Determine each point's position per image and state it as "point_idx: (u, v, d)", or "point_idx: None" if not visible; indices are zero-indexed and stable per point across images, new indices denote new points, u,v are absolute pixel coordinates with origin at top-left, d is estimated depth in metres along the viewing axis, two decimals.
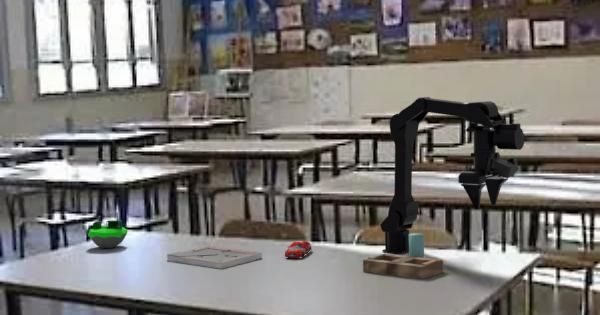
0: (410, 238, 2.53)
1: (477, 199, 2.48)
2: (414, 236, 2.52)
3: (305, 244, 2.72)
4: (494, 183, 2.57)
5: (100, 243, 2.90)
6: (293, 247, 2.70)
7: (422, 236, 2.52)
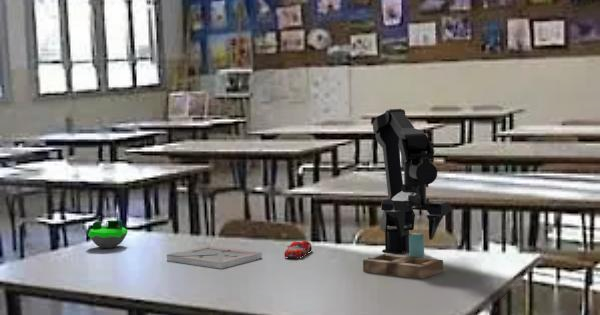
0: (410, 238, 2.53)
1: None
2: (414, 236, 2.52)
3: (305, 244, 2.72)
4: None
5: (100, 243, 2.90)
6: (293, 247, 2.70)
7: (422, 236, 2.52)
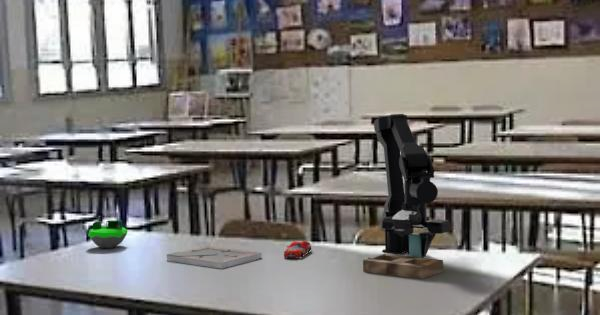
0: (410, 238, 2.53)
1: None
2: (414, 236, 2.52)
3: (304, 244, 2.72)
4: None
5: (100, 243, 2.90)
6: (292, 247, 2.70)
7: None
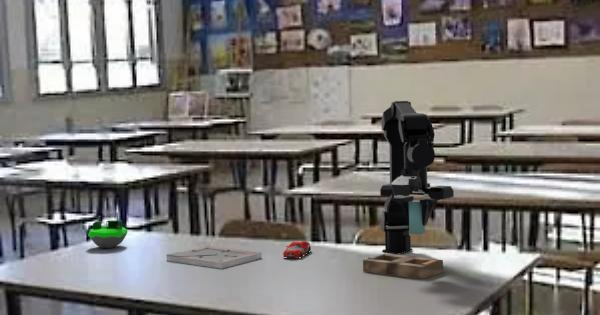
0: (410, 205, 2.40)
1: None
2: (414, 203, 2.40)
3: (304, 244, 2.72)
4: None
5: (100, 243, 2.90)
6: (292, 247, 2.70)
7: None
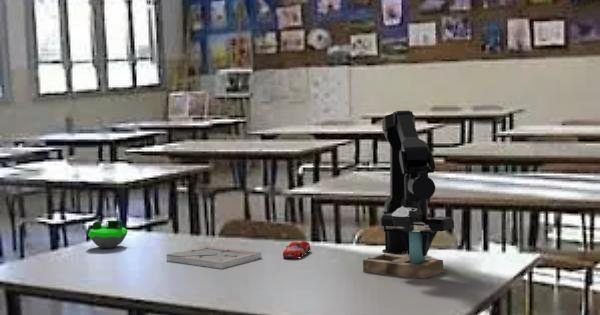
0: (410, 236, 2.41)
1: None
2: (414, 234, 2.40)
3: (303, 244, 2.72)
4: None
5: (100, 243, 2.90)
6: (291, 247, 2.70)
7: None
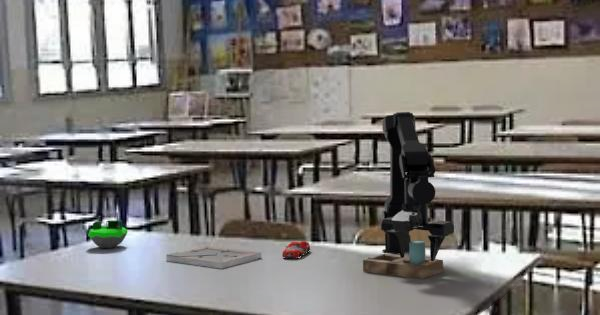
0: (411, 246, 2.41)
1: None
2: (415, 244, 2.40)
3: (303, 244, 2.72)
4: None
5: (100, 243, 2.90)
6: (291, 247, 2.70)
7: (423, 244, 2.41)
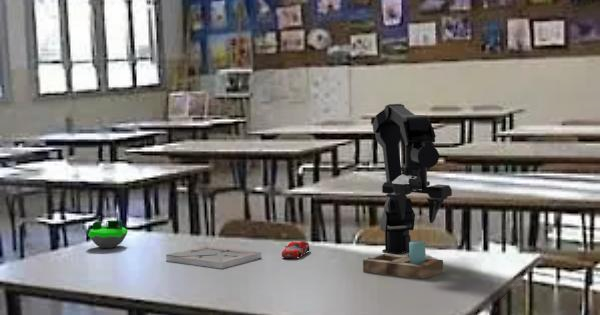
0: (411, 246, 2.41)
1: None
2: (415, 244, 2.40)
3: (302, 244, 2.72)
4: None
5: (100, 243, 2.90)
6: (290, 247, 2.70)
7: (423, 244, 2.41)
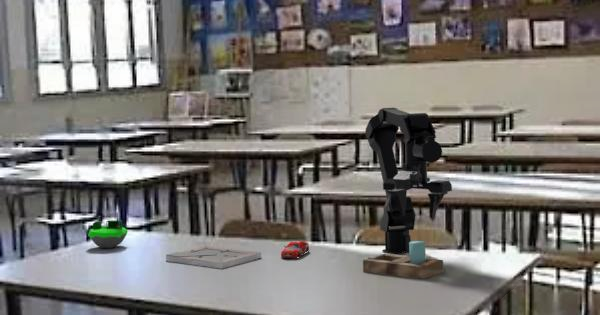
0: (411, 246, 2.41)
1: None
2: (415, 244, 2.40)
3: (302, 244, 2.72)
4: None
5: (100, 243, 2.90)
6: (290, 247, 2.70)
7: (423, 244, 2.41)
